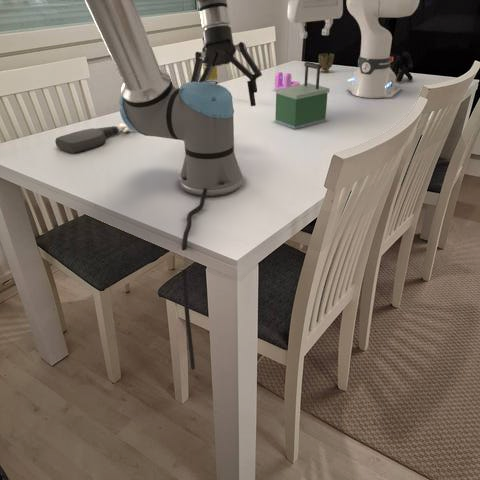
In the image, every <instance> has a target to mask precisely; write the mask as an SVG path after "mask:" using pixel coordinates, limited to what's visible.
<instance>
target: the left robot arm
mask: <svg viewBox="0 0 480 480" xmlns="http://www.w3.org/2000/svg"><path fill="white" fill-rule="evenodd" d="M84 1H85V3H86V6H87V9H88V10H89V12H90V14H91V17H92V18H93V20H94V23H95V25H96V27H97V29H98V32H99V33H100V35H101V38H102V41H103V42H104V44H105V46H106V48H107V51H108V53H109V54H110V57H111V58H112V61H113V63H114V65H115V68H116V69H117V72H118V74H119V75H120V78H121V80H122V82H123V84H122V86H121V91H120V92H121V93H120V97H119V103H118V104H119V105H120V108H119V113H120V118H121V119H122V121H123V124H126V126H127V127H128V128H129V129H130V130H132V133H133V132H134V133H136V134H139V135H143V136H145V137H156V138H157V137H158V138H162V139H172V140H177V141H183V143H184V154H185V155H184V158H183V164H182V168H181V171H180V176H179V183H180V184H179V185H180V188H181V189H182V191H184V192H186V193H187V194H190V195H194V196H199V197H200V201H199V205H197V207H195V208H194V209H192V210H190V211H189V212H188V214H187V215H186V226H185V229H184V231H183V235H182V241H181V250H182V252H183V251H186V250H187V247H188V238H189V233H190V230H191V227H192V216H193V215H195V214H196V213H198V212H199V211H200V210H202V208H203V207H204V205H205V199H206V197H221V196H224V195H229V194H232V193H234V192H235V191H237V190H239V189H240V188H241V187H242V185H243V174H242V171H241V168H240V165H239V163H238V160H237V157H236V154H235V132H234V131H235V129H234V127H235V126H234V122H235V121H234V114H235V109H234V102H233V96H232V93H231V91H230V90H228V88H226V87H225V86H223V85H220V84H219V83H217V84H215V82H207V81H208V78H209V76H210V74H211V72H212V70H213V69H214V68H215V66H217V67H221V66H223V65H225V66H226V65H230V64H232V65H234V67H236V68H237V69H238V71H240V72H241V73H242V74H243V75H244V76H245V77H246V78H248V79H249V80H247V81H246V83H247V89H248V90H247V91H248V96H249V102H250V107H256V106H257V104H256V97H255V94H256V93H258V85H257V80H258V79H259V78H260V77H262V76H263V73H262V71H261V70H260V68H259V67H258V66H257V63H256V62H255V61H254V59H253V58H252V57H251V55H250V54H249V51H248V50H247V45H246V43H244V42H242V41H240V42H238V43H237V44H235V43H234V39H233V32H232V28H231V26H230V25H231V20H230V13H229V7H228V1H227V0H196V1H197V4H198V9H199V16H200V22H201V28H202V29H203V33H202V34H203V40H204V46H206V51H205V52H202V51H195V54H194V57H195V63H194V66H193V71H192V75H191V79H190V81H188V82H185V83H183V84H182V85H181V86H180V87H175V86H174V84H173V81H172V79H171V75H170V73H168V72H167V71H166V70H164V69H161V68H160V66H159V63H158V60H157V58H156V54H155V53H154V50H153V47H152V45H151V42H150V39H149V37H148V34H147V32H146V29H145V26H144V24H143V21H142V19H141V15H140V13H139V11H138V8H137V5H136V2H135V0H84ZM236 51H237V52H239V53H241V55H242V57H243V59H244V60H245V61H246V63H247V64H248V66H249V67H250V69H251V70H252V72H253V73H252V72H251V70H249V69H248V68H247V67H246V66H244V65H243V63H241V61H240V60H238V59H237V58H236V56H235V54H236ZM205 56H206V57H207V58H208V59H209V61H208V63H207V67H206V69H205V71H204V73H203V72H202V69H203V65H204V63H203V60H204V59H205ZM201 72H202V74H201ZM200 76H201V77H200ZM187 272H188V271H187V270H186V269H182V270H181V277H182V295H183V308H184V309H183V310H184V317H185V318H184V319H185V327H186V334H187V344H188V354H189V362H190V369H191V370H195V369H196V364H195V363H196V362H195V354H194V344H193V336H192V327H191V317H190V304H189V292H188V273H187Z"/></svg>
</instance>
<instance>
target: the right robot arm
mask: <svg viewBox="0 0 480 480" xmlns="http://www.w3.org/2000/svg"><path fill="white" fill-rule="evenodd" d="M420 1H421V0H346V9H347V11H348V12H349V14H350V15H351V16H352V17H353V19H355V21H356V22H357V24H358V26H359V29H360V35H361V36H360V37H361V40H360V42H361V43H360V52H359V53H360V54H359V56H358V60H357V68H356V69H355V70H354V73H353V77H352V78H349V79H347V82H350V81H352V83H351V86H350V87H349V88H348V92H350V93H351V94H352V95H353V96H355V97H360V98H366V99H367V98H368V99H378V98H379V99H380V98H381V99H382V98H384V99H386V98H387V99H389V98H393V97H394V96H395V95H396V94H398V93H399V92H400V91H401V87H400V86H397V85H396V81H397V77H396V75H395V74H394V72H393V71H392V68H391V65H390V63H391V62H393V63H394V61H395V60H394V58H393V57H390V53H391V49H392V43H393V42H392V41H393V36H392V33H391V31H389V30H388V29H386V28H385V27H383V26H381V24H380V22H379V18H391V19H393V18H396V19H397V18H404V17H410V16H412V15H413V14H414V13H415V12H416V10H417V9H418V7H419V4H420ZM287 2H288V3H287V20H288V22H289V23H292V24H297V29H298V31H299V39H307V38H308V31H306V28H305V27H306V23H310V22H320V21H324V23H325V24H324V27H323V28H322V29H321V35H322V36H329V35H330V29H331V28H332V25H333V24H334V19H335V20H336V19H341V18H342V16H343V13H344V0H288V1H287ZM401 71H402V70H401V69H400V68H399V72H398V74H399V73H400V72H401Z"/></svg>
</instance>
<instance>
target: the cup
mask: <svg viewBox="0 0 480 480" xmlns="http://www.w3.org/2000/svg"><path fill="white" fill-rule="evenodd" d="M334 59H335V54H334V53H329V54H328V52H326V53H324V52H323V53H319V54H318V64H320V65H321V66H322V67H321V69H320V72H322V73H328V72H329V71H330V69H331V68H332V67H333V63H334Z"/></svg>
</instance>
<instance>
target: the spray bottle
mask: <svg viewBox="0 0 480 480" xmlns="http://www.w3.org/2000/svg"><path fill="white" fill-rule="evenodd" d="M130 131H132V130H130V129H129V128H128V127H127V126H126V124H125V123H119V124H116V125H113V126H105V127H98V128H97V127H96V128H94V127H93V128H87V129H83V130H82V129H81V130H78V131H74V132H70V133H67V134H64V135H61V136H58V137H56V138H55V140H54V142H55V145H56V147H57V148H58V149H61V150H63V151H66V152H68V153H71V154H76V153H79V152H84V151H87V150H90V149H93V148H96V147H99V146H101V145H103V144H104V143H105V140H106V137H110V136H113V135H117V134H119V133H121V132H123V133H126V132H130ZM132 132H133V131H132Z"/></svg>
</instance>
